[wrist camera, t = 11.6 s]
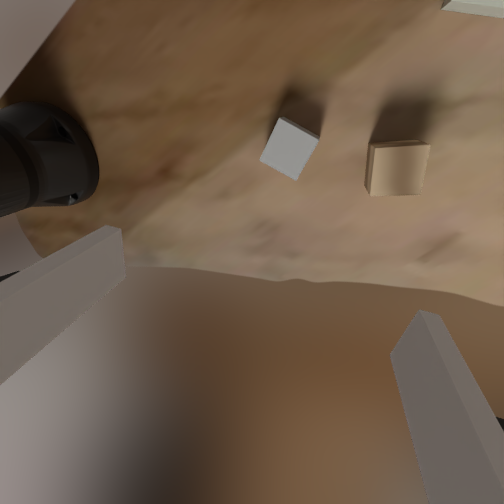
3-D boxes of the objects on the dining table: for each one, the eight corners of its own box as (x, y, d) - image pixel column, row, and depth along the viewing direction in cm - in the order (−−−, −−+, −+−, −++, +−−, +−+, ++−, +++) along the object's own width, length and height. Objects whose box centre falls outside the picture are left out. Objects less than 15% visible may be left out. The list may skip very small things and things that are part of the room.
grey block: (265, 155, 35) (259, 160, 32) (284, 116, 32) (279, 117, 29) (299, 173, 35) (296, 180, 32) (319, 136, 32) (319, 140, 29)
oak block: (364, 184, 34) (369, 196, 29) (368, 142, 31) (375, 148, 27) (408, 183, 32) (420, 194, 28) (415, 139, 30) (430, 144, 26)
